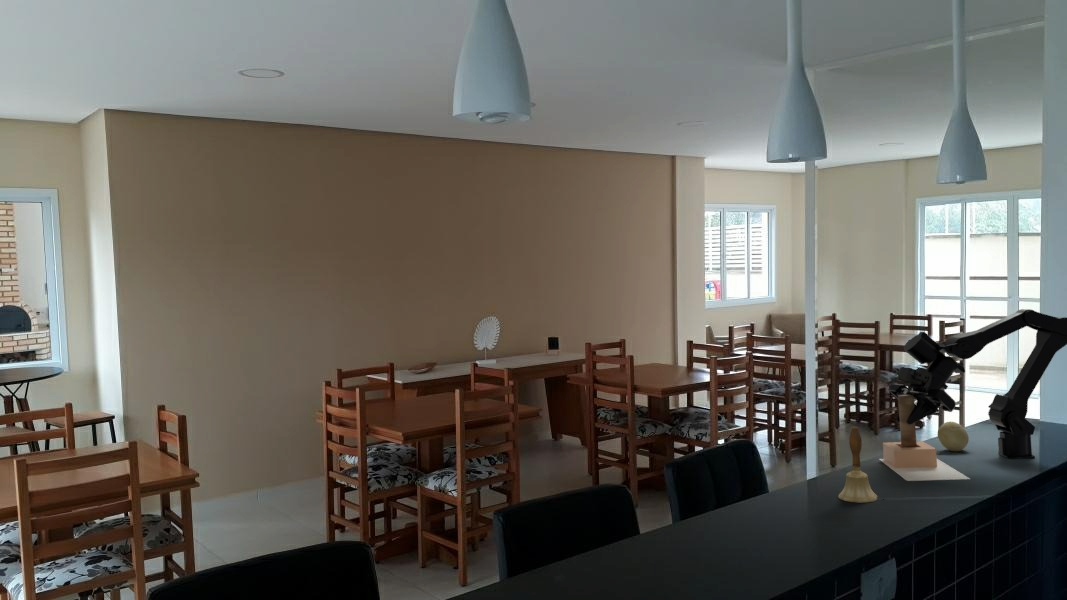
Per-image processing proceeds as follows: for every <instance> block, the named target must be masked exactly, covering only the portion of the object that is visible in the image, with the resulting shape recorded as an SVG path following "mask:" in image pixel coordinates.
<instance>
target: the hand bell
mask: <svg viewBox="0 0 1067 600" xmlns="http://www.w3.org/2000/svg"><path fill="white" fill-rule="evenodd" d="M859 430H860V429H859V427H857V426H852V427H851V430H850V433H849V436H848V437H849V438H848V439H849V440H848V441H849V442H848V443H849V449H850V452H851V455H852V456H851V457H852V466H851V467H852V470H850V471H849V472H847V473H846V476H845V484H844V487H843V489H842V491H841V492H839V494H838V499H839V500H842V501H845V502H850V503H861V504H863V503H872V502H873V503H874V502H876V501H877V500H879V497H878V495H877V494H876V493H875V492H874V491H873V490H872V487H871V485H870V481H869V478H868V476H869V475H868V474H867V473H865V472H863V471H862V470H861V466H862V465H861V451H862V445H863V444H862V443H863V441H862V440H863V439H862V435H861V433H860V431H859Z"/></svg>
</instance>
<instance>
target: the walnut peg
mask: <svg viewBox="0 0 1067 600" xmlns="http://www.w3.org/2000/svg"><path fill="white" fill-rule="evenodd" d="M897 401H898V410H899V418H900V422H899V430H900V442H901V446H902V447H916V446H917V443H916V442H917V432H916V431H917V429H916V422H914V423H912V424H910V425H909V424H908V423H907V419H908V417H909V416H910V414H911V412H912V411H913V409H914V404H915V402H914V397H913V395H898V399H897Z"/></svg>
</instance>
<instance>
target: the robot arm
mask: <svg viewBox="0 0 1067 600" xmlns="http://www.w3.org/2000/svg"><path fill="white" fill-rule="evenodd" d="M1026 327H1028V328H1029V329H1032V330H1034V331H1036V333H1035V334H1036V335H1035V346H1034V347H1033V348H1032V351H1031V353H1030V354H1029V356H1028V358H1027V359H1026V361H1025V363H1024V365H1022V368H1021V369H1020V371H1019V373H1018V374H1017V377H1016V378H1015V380H1014V381H1013V383H1012V385H1011V387H1010V388H1009V390H1007V392H1006V393H1005V394H1003V395H1002V394H998V393H997V394H995V395H994V397H993V400H992V402H991V404H989V405H988V406H987V407H988V408H989V410H988V412H987V413H988V414H987V415H988V417H989V420H990V422H991V423H993V424H994V425H995V427H996V430H998V431H999V437H997V442H998V443H997V444H998V452H997V453H998V455H1000V456H1002V457H1005V459H1006V458H1007V459H1032V458H1033V459H1036V455H1034V454H1033V451H1032V449H1033V448H1032V436H1033V435H1034V432H1035V430H1036V426H1035V425H1034V424H1032V422H1030V421H1029V420H1027V418H1026V416H1027V414H1028V403H1029V399H1030V397H1031V396H1032V394H1033V392H1034V390H1035V389H1036V388H1037V386H1038V384H1039V382H1040V381H1041V379H1042V377H1043V375H1044V373H1045V371H1046V370H1047V368H1048V367H1049V365H1050V363H1051V361H1052V360H1053V358H1054V356H1055V355H1056V353H1057V352H1059V351H1060V350H1062V348H1064V347H1066V345H1067V317H1066V316H1064V317H1063V316H1053V315H1049V314H1045V313H1042V312H1038V311H1036V310H1033V309H1028V308H1025V309H1024V308H1022V309H1018V310H1017V311H1015V312H1013V313H1012V314H1010V315H1007V316H1005V317H1002V318H1000V319H999V320H996V321H994V322H992V323H989V324H988V325H985V326H983V327H981V328H979V329H976V330H973V331H969V332H967V331H966V332H962V333H959V334H954V335H951V336H949V337H947V338H946V339H945V340H944V341H941V342H940V341H939V342H936V341H935V340H934V339H932V338H931V337H930V336H929V335H928V333H926V332H925V331H920V332H919V333H918V334H916V335H914V336H913V337H912V338H911V339H909V340H907V342H905V344H904V346H903V351H904V352H906V353H907V355H909V356H911V358H913V359H914V360H915V361H917V362H918V363H919V364H920V365H924V364H927V365H928V366H927V367H926V368H924V367H919V366H918V367H917V368H916V369H915V368H909V367H902V366H900V368H899V371H898V375H897V377H896V379H897V380H898V381H904V382H905V383H908V384H907V386H906V384H900V383H892V384H891V385H890V386H889V388H888V392H889V393H891V394H892V396H894V398H896V400H898V395H913V397H914V409H913V411H912V412H911V414H910V416H909V417H908V419H907V423H908V424H909V425H910V424H912V423H914V422H915V423H916V422H918V421H920V420H922V419H925V418H926V417H928V416H931V415H933V414H935V413H939V412H940V409H939V407H941V409H942V411H945V412H950V413H952V412H953V410H955V408H956V401H955V400H954V399H953V397H952V396H950V395H949V393H948V392H946V391H945V390H947V389H948V388H949V385H947V383H948V381H949V380H950V378H951V377H952V375H953V374H962V373H963V374H964V373H965V372H966V369H965V367H964V363H963V362H958V361H956V360H955V359H954V358H956V359H959V360H960V359H961V360H969V359H971V358H973V357H974V356H975V355H977V354H979V353H980V352H981V351H982V350H983V349H985V347H986V346H987V345H988V344H991V343H993V342H995V341H997V340H1000V339H1002V338H1003V337H1006V336H1008V335H1010V334H1013V333H1014V332H1017V331H1019V330H1022V329H1024V328H1026ZM944 353H945V354H946V355H945V354H944ZM911 389H912V390H911ZM895 418H896V419H895V421H896V422H897V423H900V418H899V409H898V410H897V415H896V417H895Z"/></svg>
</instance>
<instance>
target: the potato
mask: <svg viewBox="0 0 1067 600" xmlns="http://www.w3.org/2000/svg"><path fill="white" fill-rule="evenodd" d="M969 438H970V437H969V434H968V431H967V430H966V429H965V428H964V426H963V425H961V424H960V423H957V422H955V421H946V422H944V423H942V424H941V425H940V426H939V428H938V430H937V439H938V441H939V442H940V444H941V445H942V446H943V447H944V448H945V449H947V450H948V451H952V452H960V451H962V450H964V449H965V448H966V447H968V443H969Z"/></svg>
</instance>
